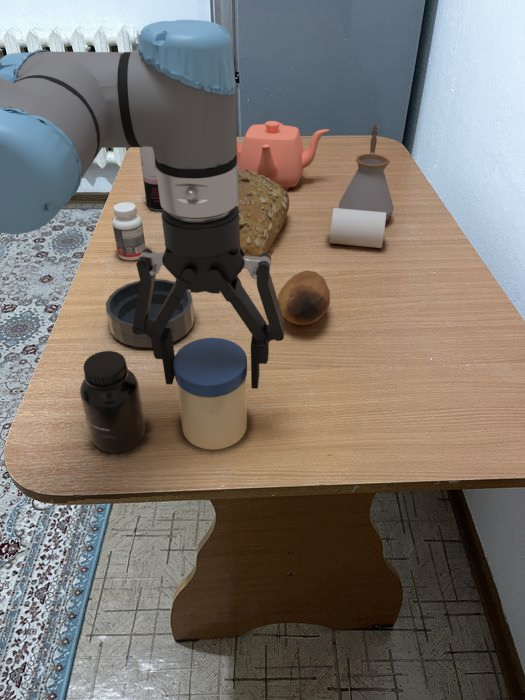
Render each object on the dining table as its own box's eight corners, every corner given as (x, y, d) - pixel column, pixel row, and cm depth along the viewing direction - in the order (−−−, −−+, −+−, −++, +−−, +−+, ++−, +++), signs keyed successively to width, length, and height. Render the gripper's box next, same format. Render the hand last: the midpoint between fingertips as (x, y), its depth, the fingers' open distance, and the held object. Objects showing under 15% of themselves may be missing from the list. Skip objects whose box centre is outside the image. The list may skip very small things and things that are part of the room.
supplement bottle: (90, 458, 69) (70, 386, 62) (92, 418, 74) (74, 348, 67) (147, 450, 70) (134, 378, 63) (145, 411, 75) (133, 341, 68)
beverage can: (179, 199, 127) (173, 131, 118) (173, 212, 122) (166, 142, 113) (151, 198, 128) (142, 130, 118) (143, 210, 123) (134, 141, 113)
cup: (381, 237, 114) (332, 233, 115) (386, 206, 110) (335, 202, 111) (380, 254, 109) (328, 249, 110) (385, 222, 104) (331, 217, 106)
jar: (176, 447, 71) (168, 385, 64) (188, 400, 77) (182, 340, 71) (243, 451, 70) (242, 390, 64) (249, 404, 77) (249, 343, 70)
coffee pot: (391, 233, 115) (403, 161, 106) (335, 228, 117) (342, 156, 107) (392, 191, 132) (402, 125, 122) (342, 187, 133) (349, 122, 124)
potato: (297, 314, 98) (338, 292, 96) (294, 347, 86) (340, 323, 84) (275, 279, 96) (315, 255, 94) (267, 308, 84) (314, 281, 82)
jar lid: (167, 395, 65) (165, 382, 64) (181, 347, 71) (180, 335, 70) (243, 399, 64) (243, 387, 63) (250, 351, 71) (250, 339, 70)
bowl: (100, 348, 86) (94, 324, 83) (123, 299, 96) (119, 277, 93) (186, 352, 85) (183, 329, 82) (200, 303, 95) (198, 280, 93)
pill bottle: (115, 250, 109) (107, 202, 103) (142, 245, 111) (136, 198, 105) (121, 263, 105) (112, 215, 99) (149, 258, 107) (142, 210, 101)
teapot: (325, 185, 134) (330, 125, 126) (264, 204, 126) (264, 141, 117) (278, 162, 146) (280, 105, 137) (219, 178, 137) (216, 119, 128)
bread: (202, 202, 126) (198, 149, 119) (295, 214, 122) (297, 159, 114) (159, 255, 108) (152, 196, 100) (267, 270, 104) (268, 210, 96)
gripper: (74, 220, 52) (114, 395, 66) (315, 228, 51) (304, 405, 65) (98, 187, 58) (131, 355, 72) (315, 193, 57) (305, 363, 71)
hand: (213, 378), depth 69 cm, fingers open, 10 cm apart
